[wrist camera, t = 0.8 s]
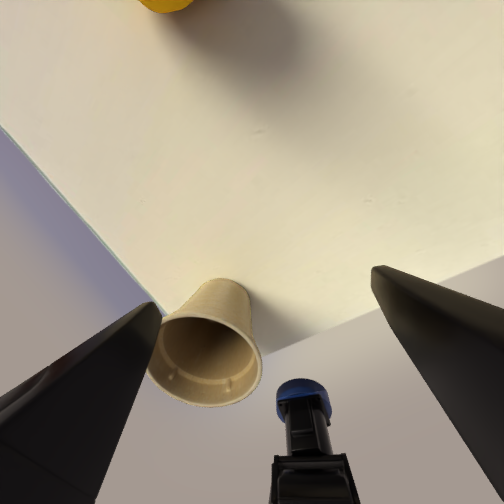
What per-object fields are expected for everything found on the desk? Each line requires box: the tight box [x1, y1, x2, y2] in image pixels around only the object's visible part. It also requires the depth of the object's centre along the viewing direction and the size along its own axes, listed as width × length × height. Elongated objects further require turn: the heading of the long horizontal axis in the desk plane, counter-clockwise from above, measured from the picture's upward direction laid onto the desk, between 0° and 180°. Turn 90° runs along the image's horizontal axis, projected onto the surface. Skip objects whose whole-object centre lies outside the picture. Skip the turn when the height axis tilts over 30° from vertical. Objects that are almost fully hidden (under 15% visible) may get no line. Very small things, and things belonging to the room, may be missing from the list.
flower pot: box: [146, 279, 262, 408], centre depth 20 cm, size 9×9×9 cm
